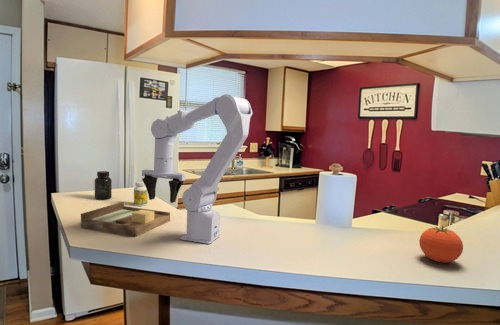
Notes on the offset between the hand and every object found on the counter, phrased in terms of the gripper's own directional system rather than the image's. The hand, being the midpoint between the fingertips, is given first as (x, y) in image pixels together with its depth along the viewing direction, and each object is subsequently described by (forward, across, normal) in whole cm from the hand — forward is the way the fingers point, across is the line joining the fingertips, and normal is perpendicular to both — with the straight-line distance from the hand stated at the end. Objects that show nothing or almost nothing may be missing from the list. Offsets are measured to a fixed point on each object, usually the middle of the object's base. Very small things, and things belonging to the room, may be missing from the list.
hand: (162, 200), depth 103 cm
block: (+8, +7, 0) cm, 10 cm away
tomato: (+8, -81, -8) cm, 82 cm away
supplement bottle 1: (+11, +46, -27) cm, 54 cm away
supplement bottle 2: (+10, +25, -24) cm, 37 cm away
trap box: (+10, +13, 0) cm, 16 cm away
